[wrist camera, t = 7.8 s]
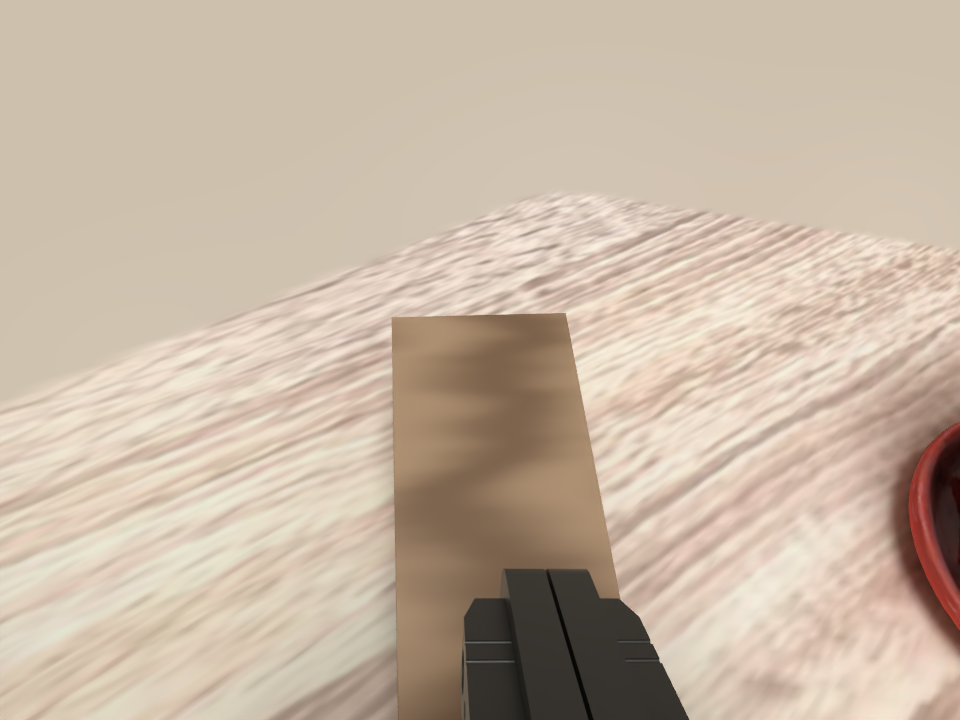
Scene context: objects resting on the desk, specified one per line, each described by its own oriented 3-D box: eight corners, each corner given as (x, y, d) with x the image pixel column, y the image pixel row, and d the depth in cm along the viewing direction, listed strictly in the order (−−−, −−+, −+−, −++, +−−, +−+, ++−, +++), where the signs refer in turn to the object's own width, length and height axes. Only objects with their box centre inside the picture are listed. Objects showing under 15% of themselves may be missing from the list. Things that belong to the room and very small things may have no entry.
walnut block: (398, 728, 15) (391, 317, 21) (404, 732, 20) (397, 400, 26) (640, 705, 16) (565, 313, 22) (586, 714, 21) (538, 394, 27)
